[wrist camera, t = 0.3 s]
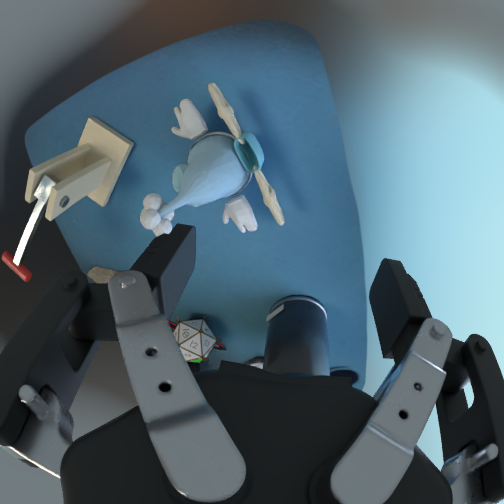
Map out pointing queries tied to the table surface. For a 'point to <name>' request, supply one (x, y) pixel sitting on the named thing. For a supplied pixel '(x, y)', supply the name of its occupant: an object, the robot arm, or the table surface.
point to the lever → (31, 228)
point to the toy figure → (213, 170)
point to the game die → (194, 339)
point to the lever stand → (83, 169)
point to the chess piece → (194, 367)
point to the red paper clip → (214, 345)
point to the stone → (101, 274)
